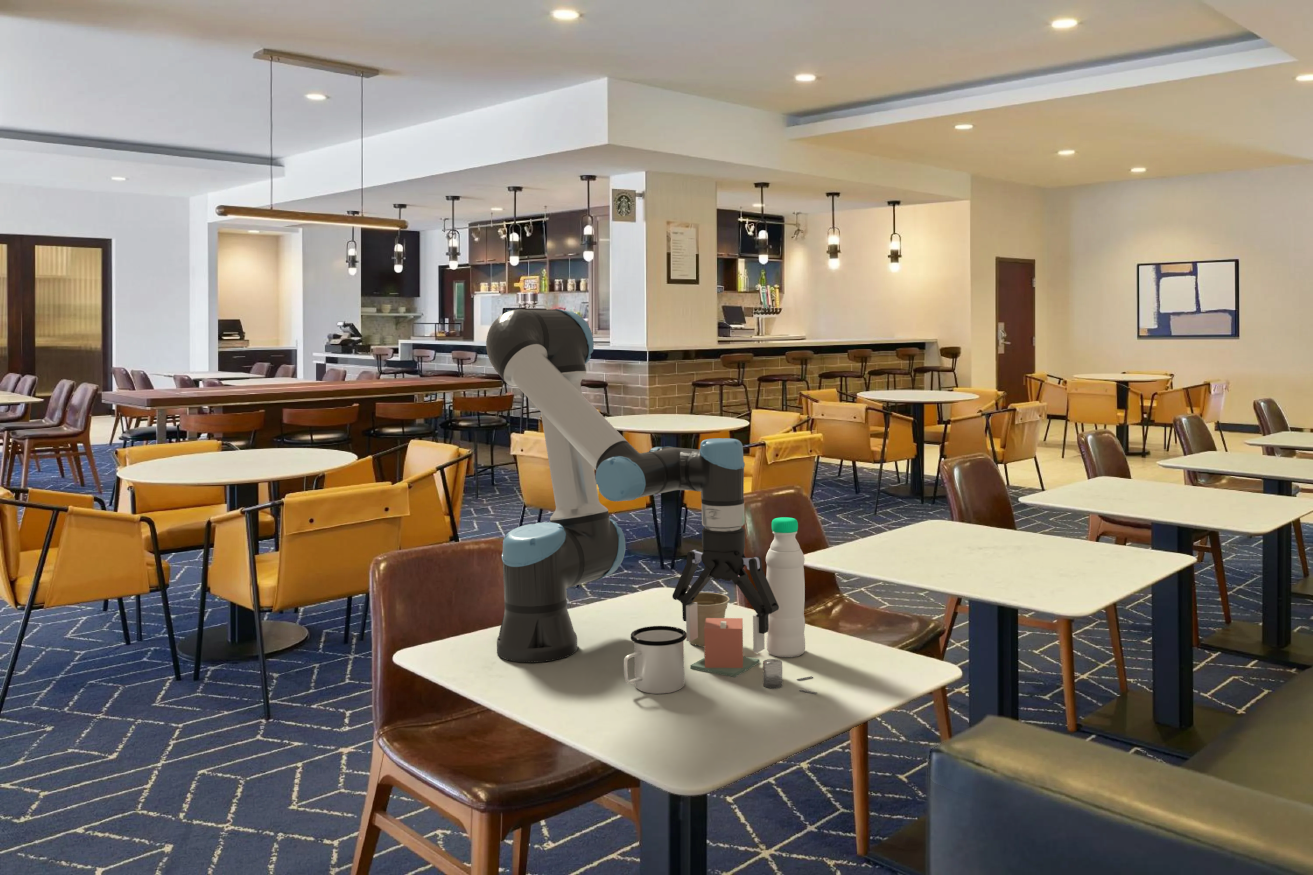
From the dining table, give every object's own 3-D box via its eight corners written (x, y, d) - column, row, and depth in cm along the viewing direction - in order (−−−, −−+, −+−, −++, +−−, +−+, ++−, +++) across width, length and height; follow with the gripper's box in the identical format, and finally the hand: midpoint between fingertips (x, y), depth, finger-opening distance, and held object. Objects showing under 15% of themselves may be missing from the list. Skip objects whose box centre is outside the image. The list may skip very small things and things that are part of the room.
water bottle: (804, 659, 185) (803, 522, 183) (764, 657, 187) (763, 521, 184) (806, 647, 192) (805, 515, 190) (768, 645, 193) (767, 514, 191)
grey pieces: (759, 686, 172) (759, 663, 171) (783, 671, 179) (783, 649, 178) (812, 696, 166) (812, 672, 166) (834, 680, 173) (834, 657, 173)
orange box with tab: (706, 655, 186) (705, 614, 186) (743, 655, 186) (742, 614, 185) (704, 667, 180) (704, 625, 179) (742, 667, 179) (742, 625, 179)
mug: (663, 672, 180) (662, 622, 179) (699, 686, 172) (698, 633, 171) (608, 688, 172) (606, 636, 171) (643, 703, 165) (642, 648, 164)
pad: (690, 668, 181) (690, 665, 181) (716, 654, 189) (716, 651, 189) (735, 676, 176) (735, 673, 176) (759, 662, 184) (759, 659, 184)
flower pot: (740, 643, 195) (739, 599, 194) (700, 653, 190) (699, 607, 189) (710, 632, 203) (709, 589, 202) (671, 641, 198) (670, 597, 197)
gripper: (652, 524, 184) (654, 639, 186) (777, 537, 170) (778, 661, 172) (674, 517, 190) (676, 629, 192) (797, 529, 176) (798, 649, 179)
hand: (724, 645), depth 182 cm, fingers open, 13 cm apart
